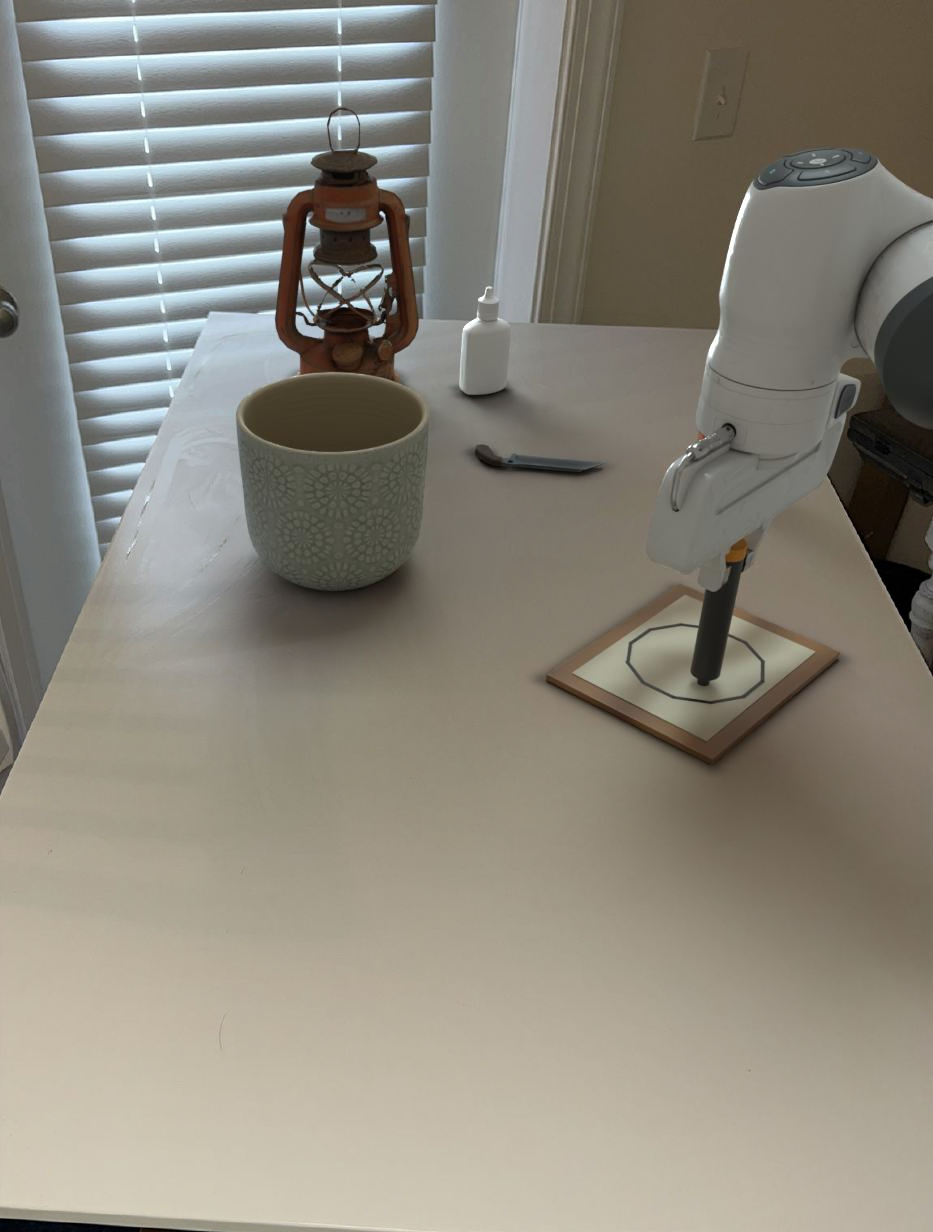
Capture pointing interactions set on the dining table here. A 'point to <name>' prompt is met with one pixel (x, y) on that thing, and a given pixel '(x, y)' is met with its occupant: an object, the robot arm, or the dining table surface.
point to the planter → (333, 476)
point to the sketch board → (667, 691)
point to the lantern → (345, 220)
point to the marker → (717, 620)
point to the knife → (534, 461)
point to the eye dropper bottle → (485, 349)
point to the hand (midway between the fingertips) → (725, 576)
